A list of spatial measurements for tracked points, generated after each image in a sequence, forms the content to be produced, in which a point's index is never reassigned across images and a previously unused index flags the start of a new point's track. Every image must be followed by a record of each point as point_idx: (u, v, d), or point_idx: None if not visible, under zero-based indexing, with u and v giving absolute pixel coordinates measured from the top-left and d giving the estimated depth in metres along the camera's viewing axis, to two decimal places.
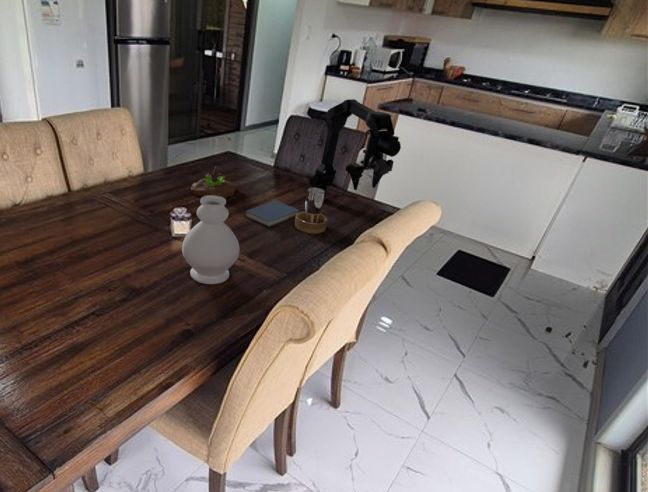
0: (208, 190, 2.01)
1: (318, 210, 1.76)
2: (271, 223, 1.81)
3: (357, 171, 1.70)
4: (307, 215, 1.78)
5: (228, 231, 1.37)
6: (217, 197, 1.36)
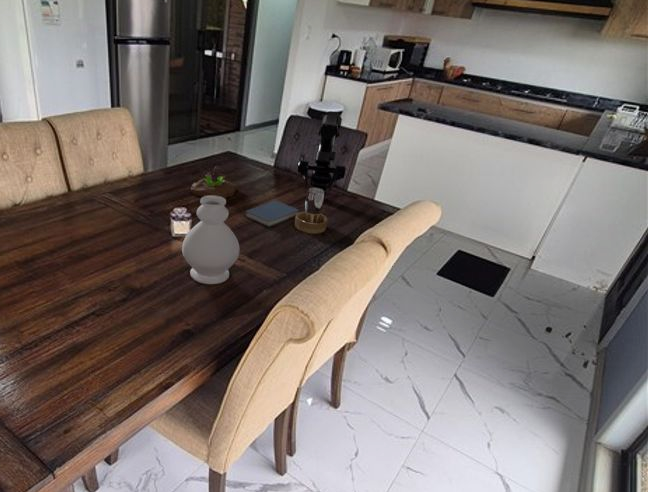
0: (208, 190, 2.01)
1: (318, 210, 1.76)
2: (271, 223, 1.81)
3: (301, 162, 1.82)
4: (307, 215, 1.78)
5: (228, 231, 1.37)
6: (217, 197, 1.36)
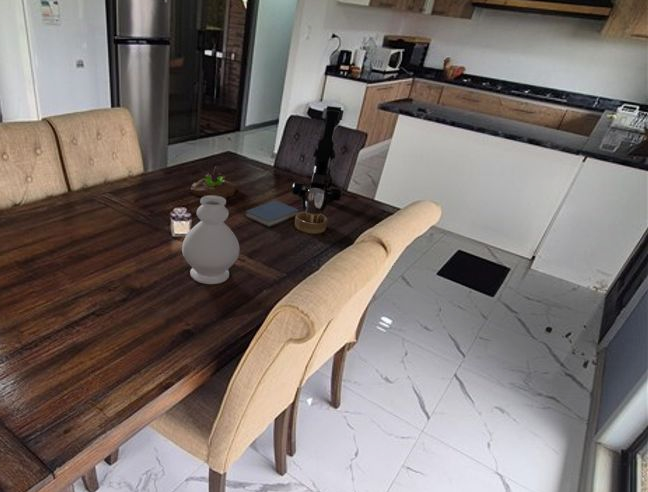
0: (208, 190, 2.01)
1: (318, 210, 1.76)
2: (271, 223, 1.81)
3: (296, 184, 1.78)
4: (307, 215, 1.78)
5: (228, 231, 1.37)
6: (217, 197, 1.36)
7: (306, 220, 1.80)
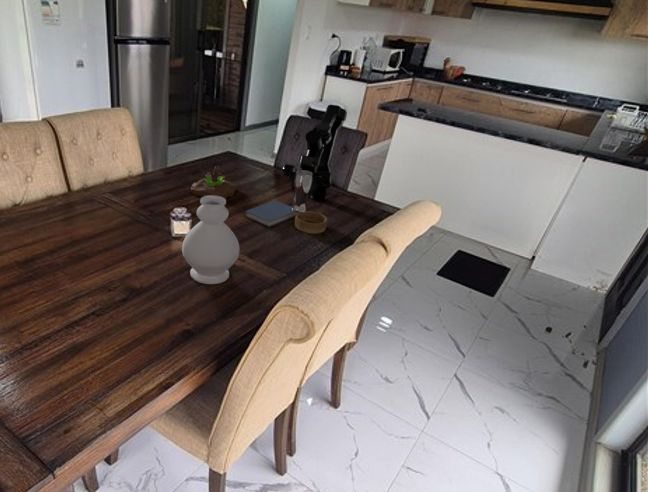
0: (208, 190, 2.01)
1: (305, 193, 1.74)
2: (271, 223, 1.81)
3: (286, 165, 1.77)
4: (295, 197, 1.77)
5: (228, 231, 1.37)
6: (217, 197, 1.36)
7: (294, 202, 1.78)
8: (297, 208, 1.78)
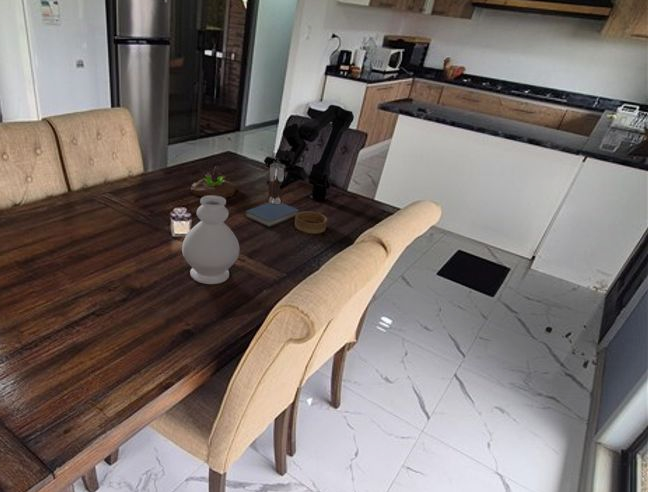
0: (208, 190, 2.01)
1: (276, 185, 1.79)
2: (271, 223, 1.81)
3: (266, 158, 1.84)
4: (269, 189, 1.83)
5: (228, 231, 1.37)
6: (217, 197, 1.36)
7: None
8: (270, 200, 1.84)
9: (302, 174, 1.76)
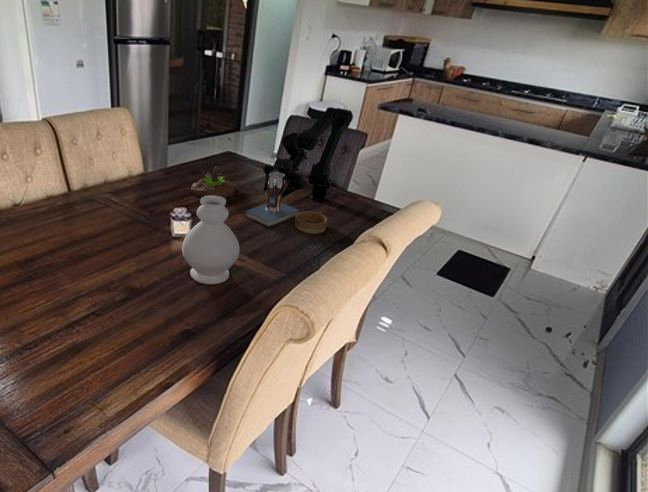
0: (208, 190, 2.01)
1: (275, 194, 1.81)
2: (271, 223, 1.81)
3: (265, 166, 1.86)
4: None
5: (228, 231, 1.37)
6: (217, 197, 1.36)
7: None
8: (269, 208, 1.86)
9: (301, 182, 1.78)
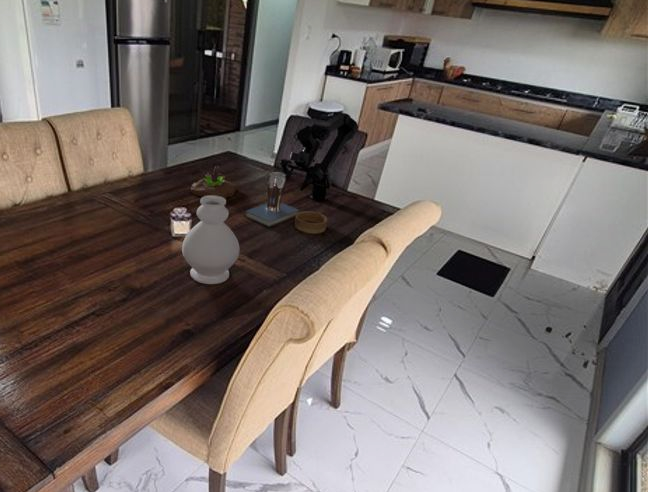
0: (208, 190, 2.01)
1: (275, 194, 1.81)
2: (271, 223, 1.81)
3: (282, 161, 1.90)
4: (268, 197, 1.85)
5: (228, 231, 1.37)
6: (217, 197, 1.36)
7: None
8: (269, 208, 1.86)
9: (318, 174, 1.82)
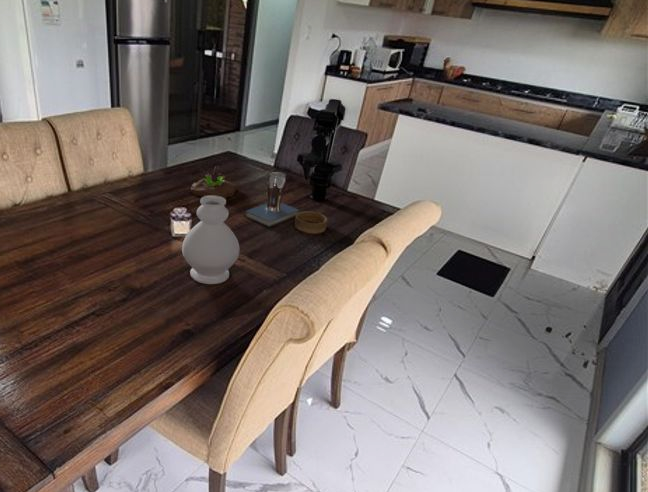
0: (208, 190, 2.01)
1: (275, 194, 1.81)
2: (271, 223, 1.81)
3: (298, 158, 1.87)
4: (268, 197, 1.85)
5: (228, 231, 1.37)
6: (217, 197, 1.36)
7: None
8: (269, 208, 1.86)
9: (336, 170, 1.79)
